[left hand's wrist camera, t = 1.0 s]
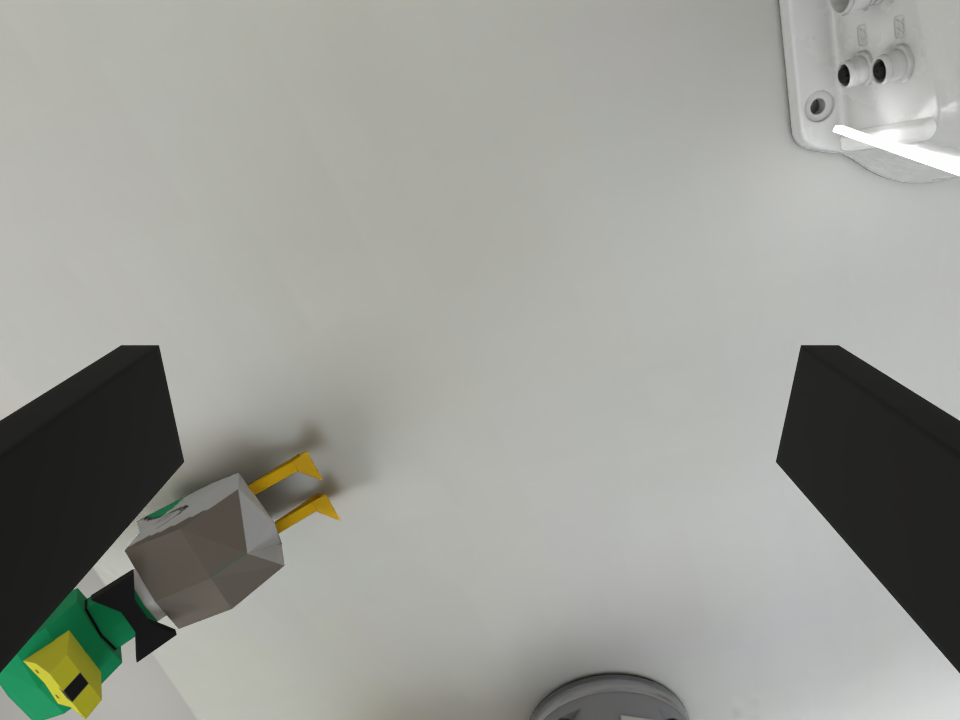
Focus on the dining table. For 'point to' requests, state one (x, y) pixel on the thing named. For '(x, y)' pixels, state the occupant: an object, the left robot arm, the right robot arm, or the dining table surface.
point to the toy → (158, 590)
